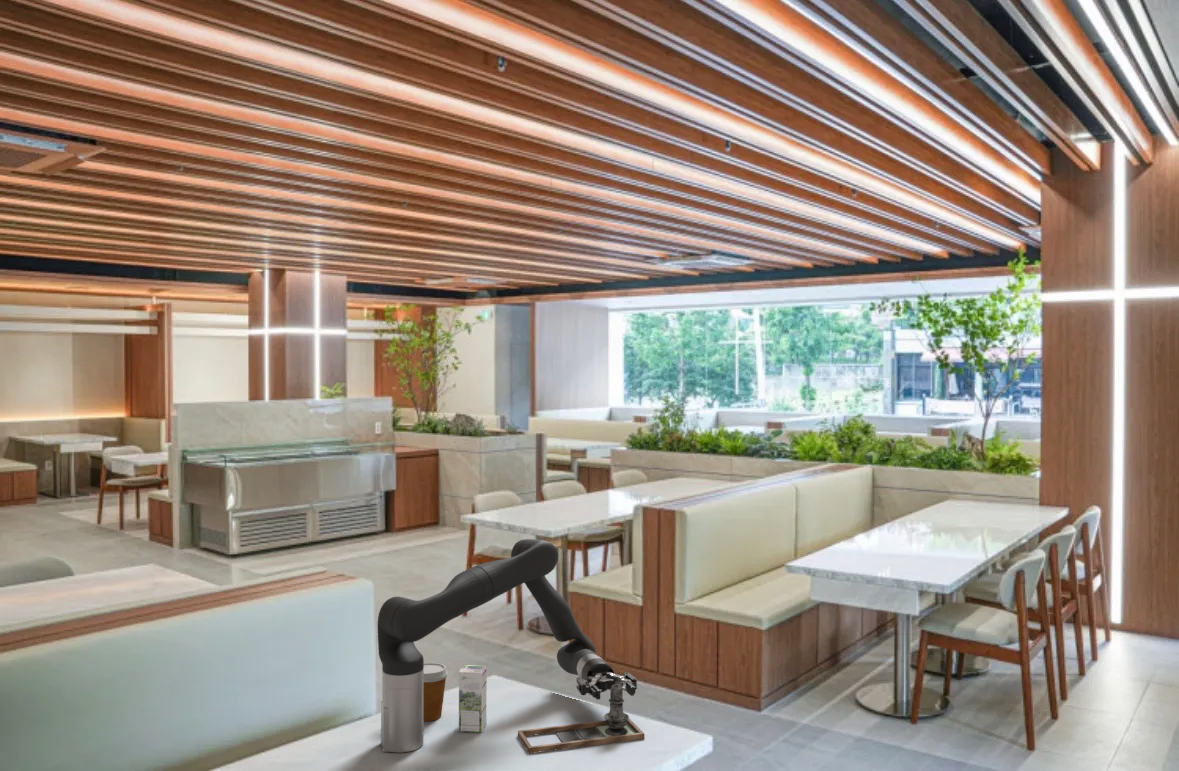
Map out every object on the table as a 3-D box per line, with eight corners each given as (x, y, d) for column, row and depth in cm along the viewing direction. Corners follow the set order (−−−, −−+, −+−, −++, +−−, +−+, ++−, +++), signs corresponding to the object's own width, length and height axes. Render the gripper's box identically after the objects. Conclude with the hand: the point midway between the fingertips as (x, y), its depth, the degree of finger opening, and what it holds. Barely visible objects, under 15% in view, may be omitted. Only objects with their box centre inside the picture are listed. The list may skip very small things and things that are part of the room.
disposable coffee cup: (444, 724, 216) (444, 674, 216) (404, 723, 216) (405, 674, 216) (451, 709, 226) (451, 662, 226) (413, 709, 226) (413, 661, 226)
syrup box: (487, 724, 216) (487, 664, 216) (481, 733, 210) (481, 672, 210) (463, 723, 216) (464, 663, 217) (457, 732, 211) (458, 671, 211)
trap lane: (528, 753, 199) (529, 748, 199) (517, 735, 209) (517, 730, 209) (644, 738, 207) (644, 733, 207) (628, 722, 217) (628, 717, 217)
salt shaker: (626, 737, 207) (626, 685, 208) (601, 735, 209) (602, 684, 209) (630, 728, 213) (630, 677, 213) (606, 726, 214) (606, 676, 214)
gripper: (568, 660, 225) (587, 680, 210) (621, 655, 229) (644, 674, 214) (568, 690, 225) (587, 712, 210) (621, 684, 229) (644, 706, 214)
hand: (616, 693), depth 212 cm, fingers open, 8 cm apart
